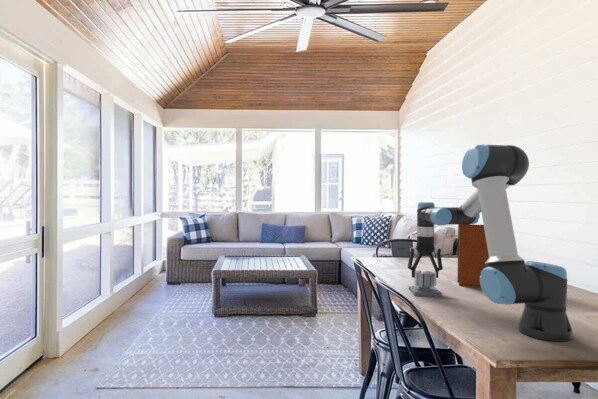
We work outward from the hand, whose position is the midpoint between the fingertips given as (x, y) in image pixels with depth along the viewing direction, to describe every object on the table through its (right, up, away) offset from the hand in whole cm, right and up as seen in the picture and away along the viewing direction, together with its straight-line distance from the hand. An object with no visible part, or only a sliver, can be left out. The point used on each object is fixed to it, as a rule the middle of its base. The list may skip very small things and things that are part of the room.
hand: (424, 284), depth 181 cm
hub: (0, 0, 0) cm, 0 cm away
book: (+34, -4, +15) cm, 37 cm away
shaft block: (0, -4, 0) cm, 4 cm away
